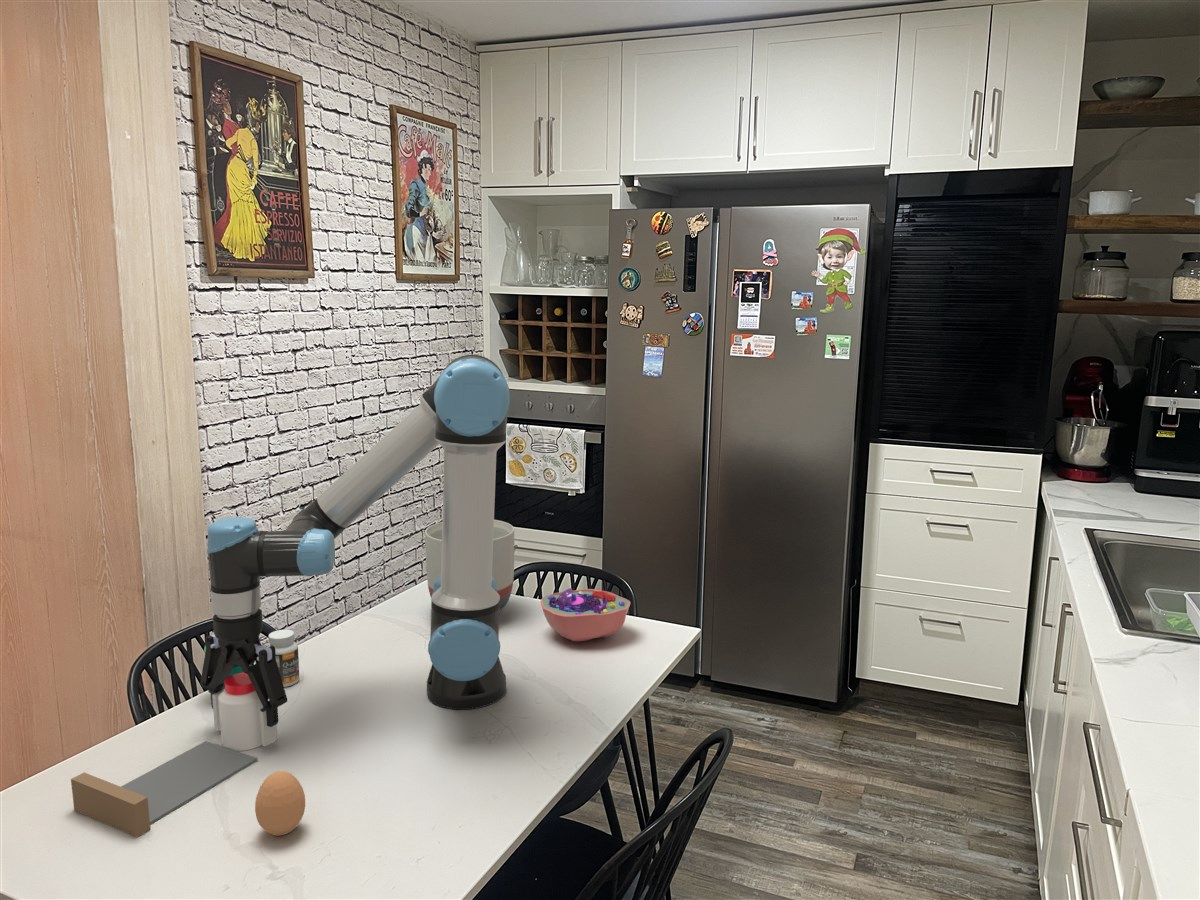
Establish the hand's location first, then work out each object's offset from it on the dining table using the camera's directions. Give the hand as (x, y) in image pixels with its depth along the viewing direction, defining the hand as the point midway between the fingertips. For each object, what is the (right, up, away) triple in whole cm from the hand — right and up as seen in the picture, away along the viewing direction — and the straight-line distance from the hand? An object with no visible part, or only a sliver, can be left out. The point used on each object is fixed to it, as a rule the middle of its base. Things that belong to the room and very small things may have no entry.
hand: (246, 734), depth 146 cm
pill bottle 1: (0, -1, 0) cm, 1 cm away
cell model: (+57, +7, +45) cm, 73 cm away
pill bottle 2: (-1, +3, +22) cm, 22 cm away
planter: (+30, +9, +56) cm, 64 cm away
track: (-5, -3, -13) cm, 14 cm away
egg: (+15, -6, -25) cm, 30 cm away
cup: (-9, +2, +16) cm, 18 cm away
